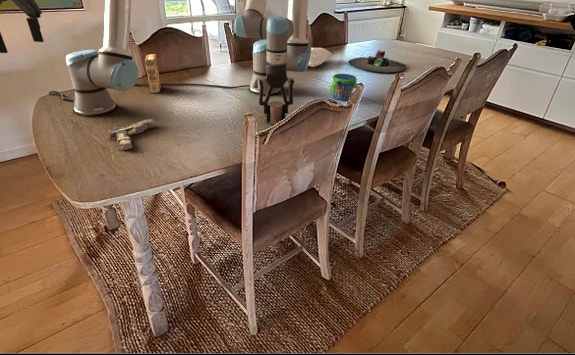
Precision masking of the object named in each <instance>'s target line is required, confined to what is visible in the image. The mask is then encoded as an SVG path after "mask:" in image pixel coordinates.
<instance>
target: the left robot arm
mask: <svg viewBox="0 0 575 355" xmlns="http://www.w3.org/2000/svg"><path fill="white" fill-rule="evenodd" d="M7 1H8V0H0V5H2V4H3V2H7ZM10 1H11V2H13V3H14V5H15V6H17V7H18V8H19V9H20V10H21V11H22V13H24V14H25V15H26V16H27V17H26V22H27V25H28V29H29V31H30V34H31V37H32V40H33V42H35V43H44V42H45V41H44V38H43V35H42V32H41V25H40V21H39V19H40V18H41V17H42V15H43V12H42V10H41V8H40V7H39V5H38V4H37V2H36V1H35V0H10ZM104 2H105V4H104V27H103V28H104V29H103V46H102V47H101V48H100V49H99V50H97V49H85V50H78V51H73V52H70V53H68V54H67V55H66V56H65V62H66V67H67V70H68V73H69V77H70V81H71V83H72V86H73V87H72V88H73V90H74V98H69V97H65V94H64V93H62V92H60V91H57V90H50V91H48V93H47V95H51V94H57V95H60V98H61V99H62V100H64V101H71V102H74V105H73V109H74V112H75V113H76V114H78V115H80V116H87V117H90V116H91V117H94V116H101V115H105V114H108V113H111V112H112V111H114V110H115V109H116V108H117V106H116V102H115V100H114V98H113V97H112V95H111V93H110V92H109V89H111V90H114V91H130V90H131V89H133V88H134V85H135V84H137V82H138V79H139V76H140V74H139V73H140V71H139V67H138V64H137V63H136V62H135V61H134V60H133V58H134V56H133V55H132V53H131V52H130V35H131V34H130V33H131V16H132V15H131V14H132V0H104ZM8 53H9V52H8V48H7V46H6V43H5V41H4V38H3V36H2V31H0V54H8Z"/></svg>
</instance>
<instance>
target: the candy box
mask: <svg viewBox="0 0 575 355" xmlns="http://www.w3.org/2000/svg"><path fill="white" fill-rule="evenodd" d="M157 62H158V61H157V55H156V54H146V56H145V59H144V63H145V68H146V73H147V79H148V84H149V85H148V86H149V90H150V93H151V94H152V93H153V94H154V93H160V92H161V87H162V85H160V84H161V79H160V73H159V66H158V63H157Z"/></svg>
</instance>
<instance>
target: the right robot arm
mask: <svg viewBox="0 0 575 355" xmlns="http://www.w3.org/2000/svg"><path fill="white" fill-rule="evenodd" d="M267 3H268V0H246V3H245V7H244V10H243V15H238V16H236V18H235V19H234V32H235V35H236V37H237V36H238V37H240V38H245V39H260V40H257V41H255V42H254V43H253V45H252V69H253V70H252V77H251V81H250V83H249V84H244V85H235V86H228V85H227V86H226V85H218V84H205V83H190V82H189V83H187V82H185V83H183V82H178V83H176V82H175V83H174V82H171V83H168V82H167V83H165V82H164V83H160V85H161V86H203V87H214V88H222V89H238V88H239V89H240V88H248V87H249V91H250V92H251V93H253V94H255V95H258V104H259V106H263V114H264V115H265V119H266V123H269V103H270V102H269V101H270V98H271V95H277V94H279V93H281V97H282V99H283V119H284V118H285V119H286V114H288V113H289V106H290V105H291V106H293V104H294V84H295V80H294V78H293V77H291V78H290V77H288V75H287V73H288V72H295V73H304V72H306V71H307V69H308V67H309V66H308V64H309V60H310V55H311V48H312V46H310V45H309V40H308V39H307V38H306V35H307V34H306V32H307V21H308V8H309V7H308V6H309V0H287V16H286V17H285V16H277V15H276V16H269V17H265V16H264V15H265V11H266V7H267ZM286 83H287V84H288V98H287V95H286V91H285V87H284V85H285V84H286ZM134 86H135V87H136V86H139V87H141V86H142V87H143V86H150V85H149V83H136V84H135V85H134ZM134 86H133V87H134ZM264 96H265V97H264ZM269 124H270V123H269Z"/></svg>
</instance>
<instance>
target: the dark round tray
mask: <svg viewBox="0 0 575 355" xmlns="http://www.w3.org/2000/svg"><path fill="white" fill-rule="evenodd" d="M385 55H386V51H385V50H380V49H378V50H377V52H376V53H375V55H374V56H371V55H369V56H368V57H365V56H364V57H362V56H360V57H355V58H351V59H349V60H348V61H347V63H348V64H349V65H350V66H352V67H354V68H356V69H358V70H364V71H369V72H376V73H385V74H386V73H399V72H402V71H404V70H406V68H407V65H406V64H404V63H402V62H401V63H400V62H399V61H395V60H392V59H389V58H388V57H385Z"/></svg>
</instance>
